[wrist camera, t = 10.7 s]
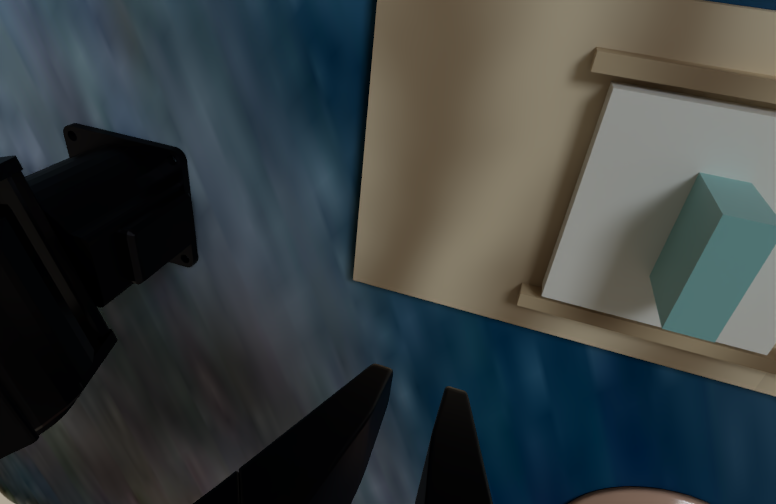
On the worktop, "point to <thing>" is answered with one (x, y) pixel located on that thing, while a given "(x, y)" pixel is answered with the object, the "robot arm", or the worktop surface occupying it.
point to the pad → (636, 496)
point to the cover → (675, 218)
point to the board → (531, 149)
